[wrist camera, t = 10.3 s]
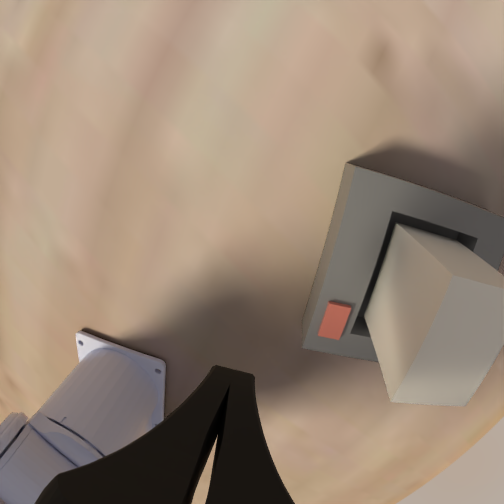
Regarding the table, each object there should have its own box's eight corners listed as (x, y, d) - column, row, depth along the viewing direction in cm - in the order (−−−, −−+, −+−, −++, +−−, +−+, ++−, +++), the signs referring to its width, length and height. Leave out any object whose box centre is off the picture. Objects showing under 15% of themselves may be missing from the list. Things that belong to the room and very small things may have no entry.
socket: (488, 210, 16) (516, 223, 13) (434, 345, 20) (450, 374, 17) (345, 162, 17) (356, 166, 14) (302, 320, 20) (301, 351, 17)
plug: (448, 234, 16) (527, 295, 9) (416, 316, 18) (465, 406, 11) (389, 217, 17) (452, 275, 9) (360, 305, 18) (390, 401, 11)
